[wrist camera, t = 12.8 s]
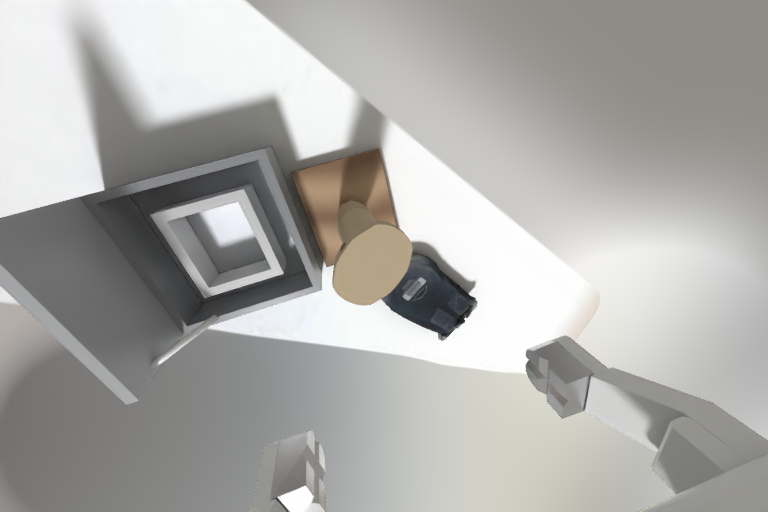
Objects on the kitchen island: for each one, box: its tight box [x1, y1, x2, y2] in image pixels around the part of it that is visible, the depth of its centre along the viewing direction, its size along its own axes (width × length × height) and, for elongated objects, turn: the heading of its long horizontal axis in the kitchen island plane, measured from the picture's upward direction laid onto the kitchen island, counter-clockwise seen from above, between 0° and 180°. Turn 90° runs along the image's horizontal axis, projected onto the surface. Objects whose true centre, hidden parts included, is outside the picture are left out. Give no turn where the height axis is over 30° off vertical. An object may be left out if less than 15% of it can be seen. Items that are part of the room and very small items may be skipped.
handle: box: [333, 199, 413, 305], centre depth 26 cm, size 5×6×15 cm
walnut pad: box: [291, 149, 396, 267], centre depth 33 cm, size 12×10×1 cm
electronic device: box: [381, 254, 477, 341], centre depth 39 cm, size 9×6×15 cm
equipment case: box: [0, 146, 322, 404], centre depth 26 cm, size 16×17×13 cm
